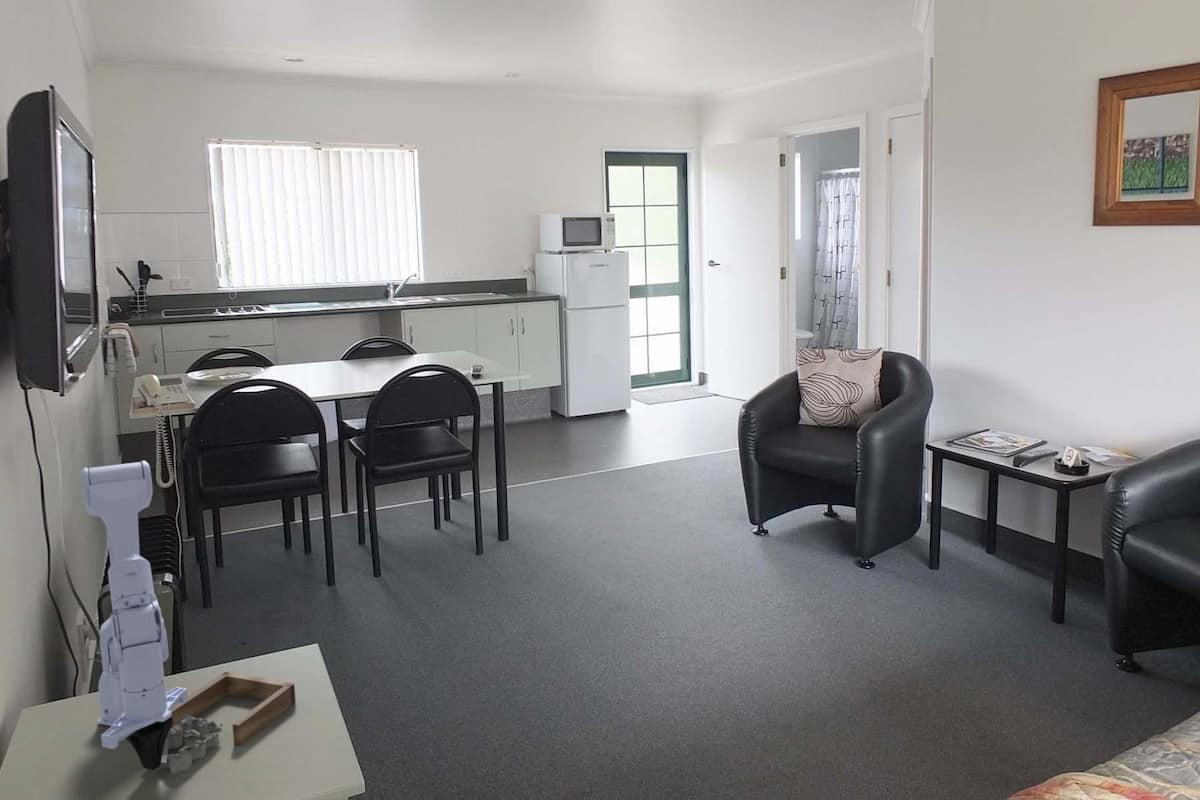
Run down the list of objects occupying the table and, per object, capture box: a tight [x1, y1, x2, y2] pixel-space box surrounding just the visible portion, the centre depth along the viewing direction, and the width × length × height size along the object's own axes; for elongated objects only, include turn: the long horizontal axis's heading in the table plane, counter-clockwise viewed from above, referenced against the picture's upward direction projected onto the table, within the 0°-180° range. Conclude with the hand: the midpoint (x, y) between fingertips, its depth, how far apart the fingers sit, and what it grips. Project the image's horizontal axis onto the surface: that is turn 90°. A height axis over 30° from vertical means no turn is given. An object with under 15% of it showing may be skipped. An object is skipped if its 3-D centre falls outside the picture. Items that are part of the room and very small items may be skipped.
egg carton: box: [154, 715, 224, 774], centre depth 144 cm, size 11×8×4 cm
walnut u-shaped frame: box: [170, 671, 296, 746], centre depth 155 cm, size 14×14×4 cm
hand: (151, 766), depth 138 cm, fingers closed
